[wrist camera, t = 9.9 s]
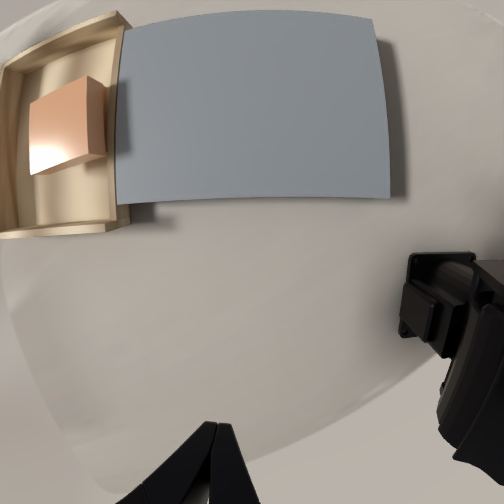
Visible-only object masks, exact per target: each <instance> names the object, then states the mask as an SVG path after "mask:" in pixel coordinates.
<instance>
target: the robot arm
mask: <svg viewBox="0 0 504 504" xmlns="http://www.w3.org/2000/svg"><path fill="white" fill-rule="evenodd" d="M470 257H471V260H469V259H470ZM415 258H417V262H416V263H414V259H415ZM399 316H400V317H401V318H400V324H399V329H398V333H399V335H400V336H401V337H402V338H410V337H417V336H418V337H419V338H420V339H421V340H422V341H423V342H424V343H428V344H429V345H430V346H431V347H432V348H433V349H434V350H435V351H436V352H437V353H438V355H439V356H440V357H441V358H443V359H445V358H450V359H451V360H452V361H451V364H450V367H449V369H448V372H447V375H446V378H445V381H444V382H443V383H442V385H441V387H440V395H441V397H440V399H439V402H438V407H437V417H438V421H439V424H440V425H439V427H438V430H439V432H440V434H441V435H442V437H443V438H444V439H445V440H446V441H447V442H448V443H450V445H451V446H453V447H454V448H456V449H457V450H456V452H455V453H454V455H453V456H452V458H453V459H454V460H457V461H461V462H465V463H469V464H471V465H473V466H475V467H478V468H480V469H481V470H483V471H484V472H485V473H487V474H488V475H489V476H490V477H491V478H492V479H493V480H494V481H496V482H497V483H498V484H499V485H502V486H504V260H479V261H476V256H475V254H474V253H472V252H435V253H412V254H411V255H410V256H409V259H408V268H407V277H406V283H405V284H404V287H403V294H402V301H401V308H400V314H399ZM406 329H407V330H406ZM404 330H406V332H405V333H403V331H404ZM208 498H209V504H261V503H260V502H259V499H258V497H257V494H256V491H255V489H254V486H253V484H252V481H251V478H250V476H249V473H248V470H247V468H246V465H245V462H244V459H243V457H242V454H241V451H240V448H239V445H238V442H237V440H236V437H235V434H234V431H233V428H232V425H231V424H229V423H217V422H210V421H205V422H204V423H203V424H202V425H201V426H200V427H199V428H198V429H197V430H196V431H195V432H194V433H193V434H192V435H191V436H190V437H189V438H188V439H187V440H186V441H185V442H184V443H183V444H182V445H181V446H180V447H179V448H178V449H177V450H176V451H175V452H174V453H173V454H172V455H171V456H170V457H169V458H168V459H167V460H166V461H165V462H164V463H162V464H161V465H160V466H159V467H158V468H157V469H156V470H155V471H154V472H153V473H152V474H151V475H150V476H149V477H147V478H146V479H145V480H144V481H143V482H142V484H140V485H138V486H137V487H136V488H135V489H134V490H133V491H132V492H130V493H129V494H128V495H127V496H125V497H124V498H123V499H121V500H120V501H118V502H117V503H116V504H207V501H208Z"/></svg>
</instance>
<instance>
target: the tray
mask: <svg viewBox="0 0 504 504" xmlns="http://www.w3.org/2000/svg"><path fill="white" fill-rule="evenodd" d="M129 29H133V27H132V26H131V25H130V24H129V23H128V22H127V21H126V20H125V18H124V17H123V16H122V15H121V14H120V13H119V12H118V11H117V10H116V11H112V12H110V13H107V14H104V15H101V16H98V17H96V18H93V19H90V20H88V21H85V22H83V23H80V24H78V25H76V26H73V27H71V28H69V29H66V30H64V31H62V32H60V33H58V34H56V35H54V36H52V37H50V38H48V39H46V40H44V41H42V42H40V43H38V44H36V45H34V46H33V47H31V48H29V49H27V50H25V51H24V52H22V53H20V54H19V55H17V56H15V57H14V58H12V59H10V60H9V61H7V62H6V63H4V64H3V65H2V68H1V72H0V239H9V238H22V237H36V236H51V235H66V234H83V233H102V232H108V231H111V230H114V229H117V228H120V227H124V226H127V225H130V224H131V223H130V209H129V204H120V205H117V192H116V113H117V96H118V83H119V72H120V63H121V54H122V47H123V40H124V33H125V31H126V30H129ZM86 75H88V76H89V77H91V78H93V79H95V80H97V81H99V82H100V83H102V84H103V86H105V87H107V90H106V129H107V152H106V156H104V157H101V158H97V159H94V160H91V161H88V162H85V163H81V164H78V165H75V166H72V167H70V168H67V169H64V170H61V171H58V172H55V173H53V174H50V175H31V173H30V154H29V114H30V104H31V103H32V102H34V101H36V100H38V99H39V98H41V97H43V96H45V95H47V94H49V93H50V92H52V91H54V90H56V89H58V88H60V87H62V86H64V85H66V84H68V83H71V82H73V81H75V80H77V79H79V78H82V77H84V76H86Z"/></svg>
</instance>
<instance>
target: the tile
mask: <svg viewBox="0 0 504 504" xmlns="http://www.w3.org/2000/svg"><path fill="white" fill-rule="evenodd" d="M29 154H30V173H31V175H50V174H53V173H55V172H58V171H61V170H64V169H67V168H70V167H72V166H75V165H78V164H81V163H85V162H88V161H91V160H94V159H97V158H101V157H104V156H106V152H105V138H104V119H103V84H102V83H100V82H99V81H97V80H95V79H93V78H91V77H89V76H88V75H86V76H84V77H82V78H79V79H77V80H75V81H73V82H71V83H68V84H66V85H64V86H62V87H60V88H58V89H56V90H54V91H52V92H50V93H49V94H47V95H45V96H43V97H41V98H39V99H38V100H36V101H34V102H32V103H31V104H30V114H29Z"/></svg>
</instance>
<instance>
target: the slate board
mask: <svg viewBox="0 0 504 504" xmlns="http://www.w3.org/2000/svg"><path fill="white" fill-rule="evenodd" d="M116 192H117V205H120V204H132V203H144V202H158V201H174V200H192V199H214V198H243V197H357V198H386V199H390V154H389V135H388V121H387V110H386V100H385V92H384V84H383V76H382V70H381V63H380V57H379V51H378V46H377V41H376V36H375V31H374V26H373V22H372V19H367V18H361V17H355V16H348V15H341V14H332V13H323V12H310V11H292V10H254V11H235V12H222V13H213V14H204V15H197V16H190V17H184V18H178V19H173V20H167V21H162V22H158V23H153V24H149V25H145V26H141V27H137V28H133V29H129V30H126V31H125V33H124V40H123V47H122V54H121V63H120V72H119V83H118V96H117V113H116Z"/></svg>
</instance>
